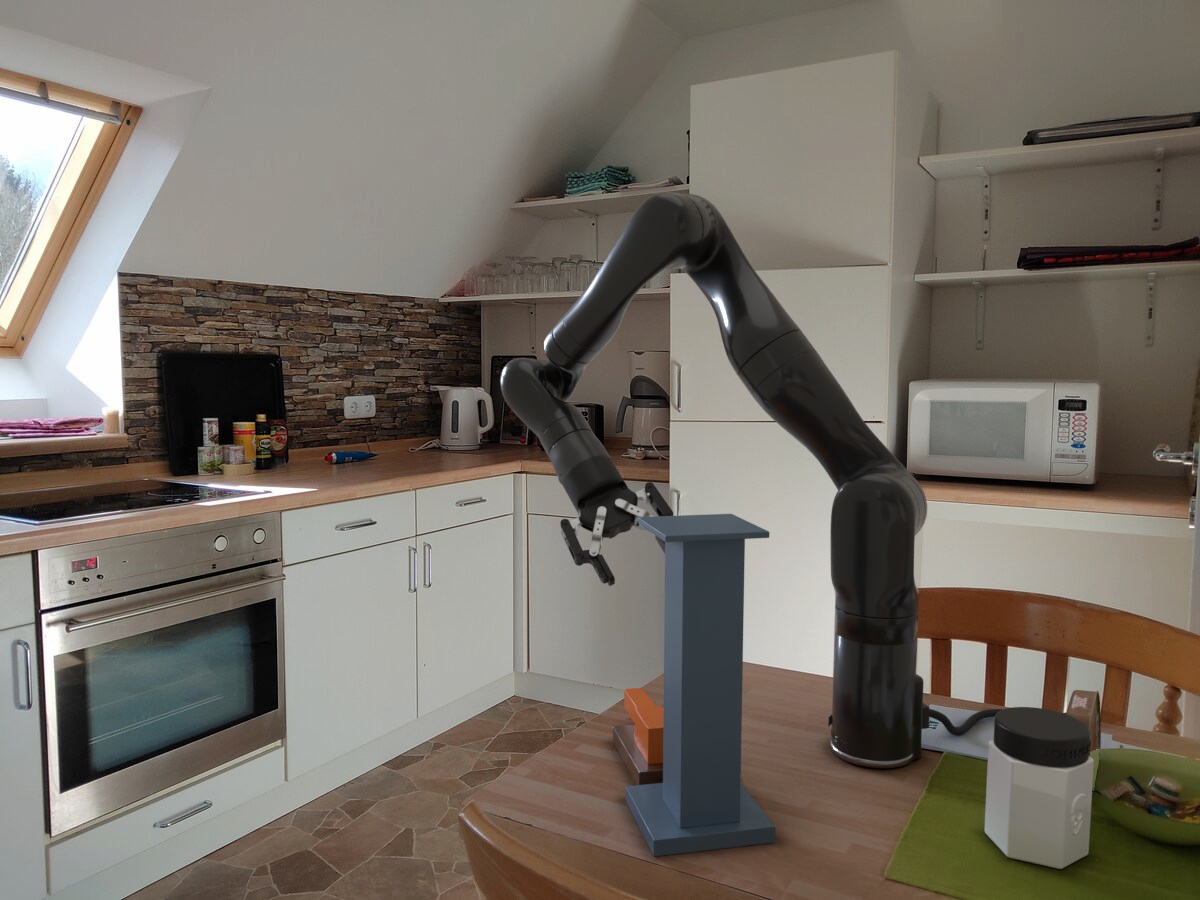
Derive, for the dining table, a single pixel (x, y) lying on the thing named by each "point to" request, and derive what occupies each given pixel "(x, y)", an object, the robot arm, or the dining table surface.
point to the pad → (635, 757)
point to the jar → (1039, 786)
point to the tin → (1087, 713)
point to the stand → (701, 692)
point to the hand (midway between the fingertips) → (642, 569)
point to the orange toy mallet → (646, 724)
